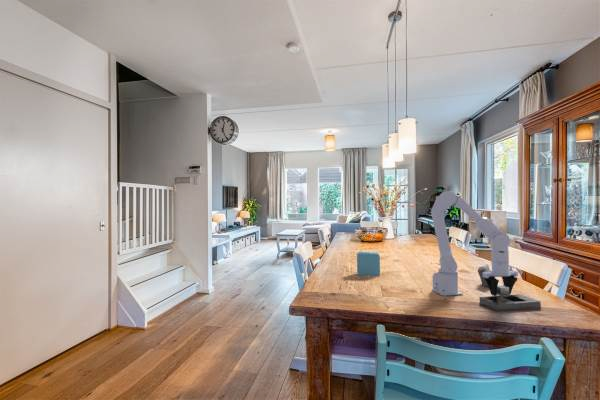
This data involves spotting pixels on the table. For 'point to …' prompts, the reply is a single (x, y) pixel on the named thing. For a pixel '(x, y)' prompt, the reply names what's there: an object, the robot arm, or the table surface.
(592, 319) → the table surface
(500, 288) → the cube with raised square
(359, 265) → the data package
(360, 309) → the table surface
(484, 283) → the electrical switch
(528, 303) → the dark grey flat block
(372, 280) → the table surface
